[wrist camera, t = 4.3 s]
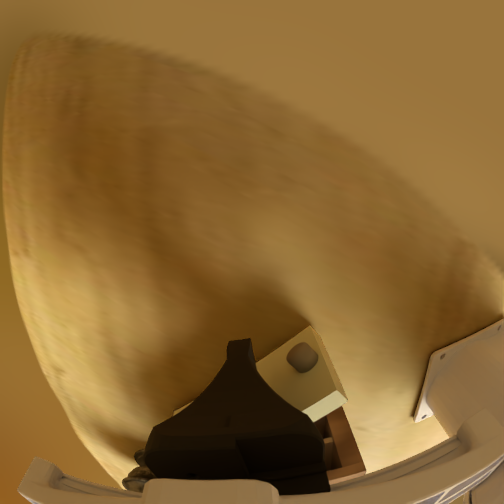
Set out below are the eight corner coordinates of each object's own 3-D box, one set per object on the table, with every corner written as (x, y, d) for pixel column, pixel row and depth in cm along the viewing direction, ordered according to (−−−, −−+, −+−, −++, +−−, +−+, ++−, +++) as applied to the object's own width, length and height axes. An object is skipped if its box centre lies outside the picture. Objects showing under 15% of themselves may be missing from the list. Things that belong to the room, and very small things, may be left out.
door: (300, 312, 14) (326, 381, 9) (318, 333, 15) (349, 402, 9) (161, 404, 16) (141, 467, 11) (180, 418, 16) (166, 481, 11)
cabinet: (339, 399, 16) (366, 470, 10) (334, 469, 19) (347, 519, 13) (183, 420, 17) (167, 491, 10) (220, 484, 19) (217, 535, 13)
